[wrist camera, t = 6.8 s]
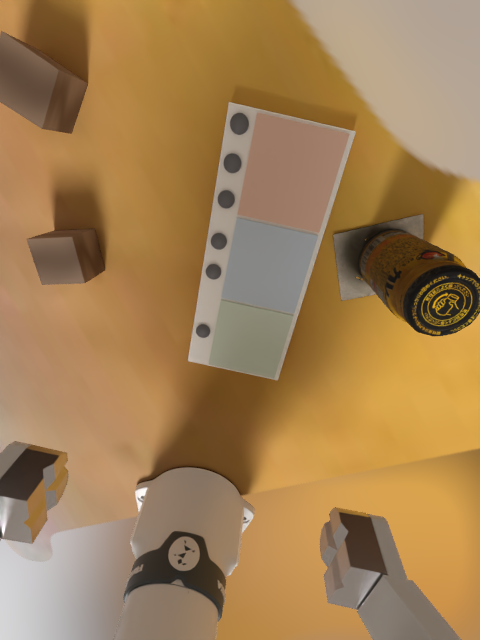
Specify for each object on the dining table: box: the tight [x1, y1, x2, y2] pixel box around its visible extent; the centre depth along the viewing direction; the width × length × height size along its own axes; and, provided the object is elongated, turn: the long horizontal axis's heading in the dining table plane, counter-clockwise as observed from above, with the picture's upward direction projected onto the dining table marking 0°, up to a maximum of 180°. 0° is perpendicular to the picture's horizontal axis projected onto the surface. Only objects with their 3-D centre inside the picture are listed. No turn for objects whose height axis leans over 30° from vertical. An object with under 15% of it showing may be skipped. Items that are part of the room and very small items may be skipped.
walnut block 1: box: [0, 31, 88, 134], centre depth 27 cm, size 4×4×4 cm
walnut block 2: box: [27, 229, 105, 285], centre depth 33 cm, size 4×4×4 cm
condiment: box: [333, 214, 480, 336], centre depth 28 cm, size 7×8×12 cm
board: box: [188, 102, 356, 380], centre depth 34 cm, size 26×11×1 cm, turn 169°
